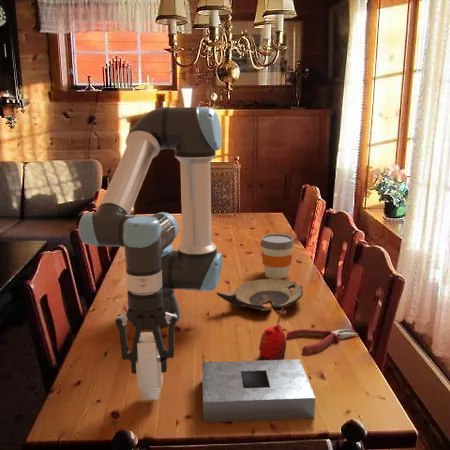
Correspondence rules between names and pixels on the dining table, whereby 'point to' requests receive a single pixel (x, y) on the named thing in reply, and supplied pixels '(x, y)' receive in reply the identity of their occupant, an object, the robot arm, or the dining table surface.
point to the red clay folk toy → (273, 342)
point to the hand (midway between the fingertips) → (150, 384)
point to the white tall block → (148, 366)
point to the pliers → (327, 335)
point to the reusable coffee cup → (277, 255)
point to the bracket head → (256, 391)
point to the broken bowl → (264, 294)
